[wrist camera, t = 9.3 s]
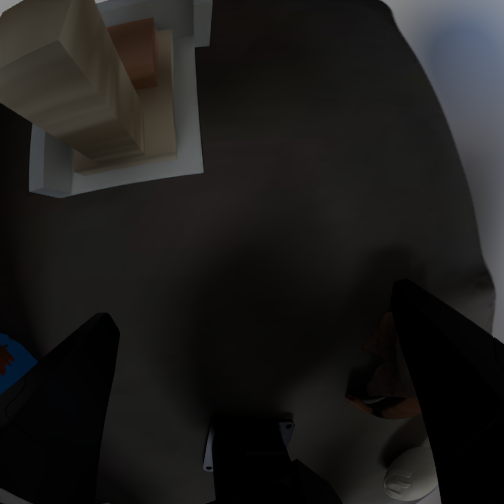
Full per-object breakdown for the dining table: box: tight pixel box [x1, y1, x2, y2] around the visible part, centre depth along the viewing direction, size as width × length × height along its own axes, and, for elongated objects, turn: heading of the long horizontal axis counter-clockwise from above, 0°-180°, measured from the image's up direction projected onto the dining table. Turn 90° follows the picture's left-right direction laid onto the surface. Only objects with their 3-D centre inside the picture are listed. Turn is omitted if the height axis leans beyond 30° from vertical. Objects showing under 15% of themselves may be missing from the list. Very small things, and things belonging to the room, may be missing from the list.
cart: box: [0, 0, 177, 176], centre depth 9 cm, size 9×6×13 cm, turn 7°
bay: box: [29, 0, 213, 198], centre depth 13 cm, size 12×11×5 cm
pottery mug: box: [345, 307, 422, 420], centre depth 18 cm, size 12×10×8 cm
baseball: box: [383, 447, 438, 501], centre depth 19 cm, size 7×7×7 cm
